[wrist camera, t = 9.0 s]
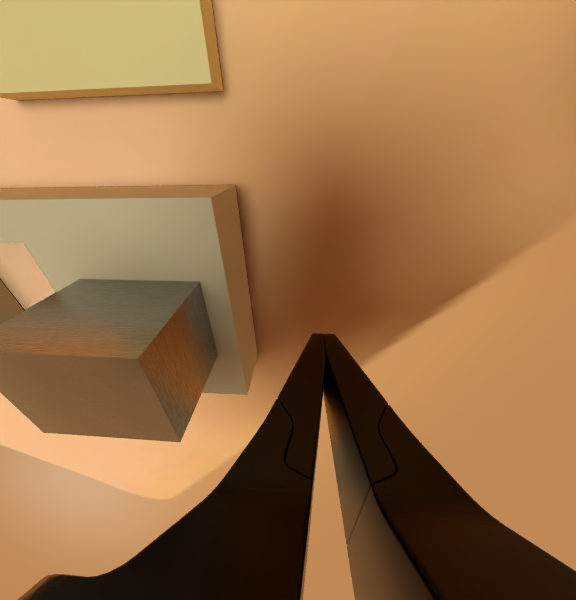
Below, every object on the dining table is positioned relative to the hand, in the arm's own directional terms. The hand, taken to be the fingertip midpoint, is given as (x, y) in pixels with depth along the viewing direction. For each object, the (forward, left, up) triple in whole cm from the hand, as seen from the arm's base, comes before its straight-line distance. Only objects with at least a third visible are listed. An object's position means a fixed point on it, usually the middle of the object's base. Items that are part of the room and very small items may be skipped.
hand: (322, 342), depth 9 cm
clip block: (+7, 0, -1) cm, 7 cm away
